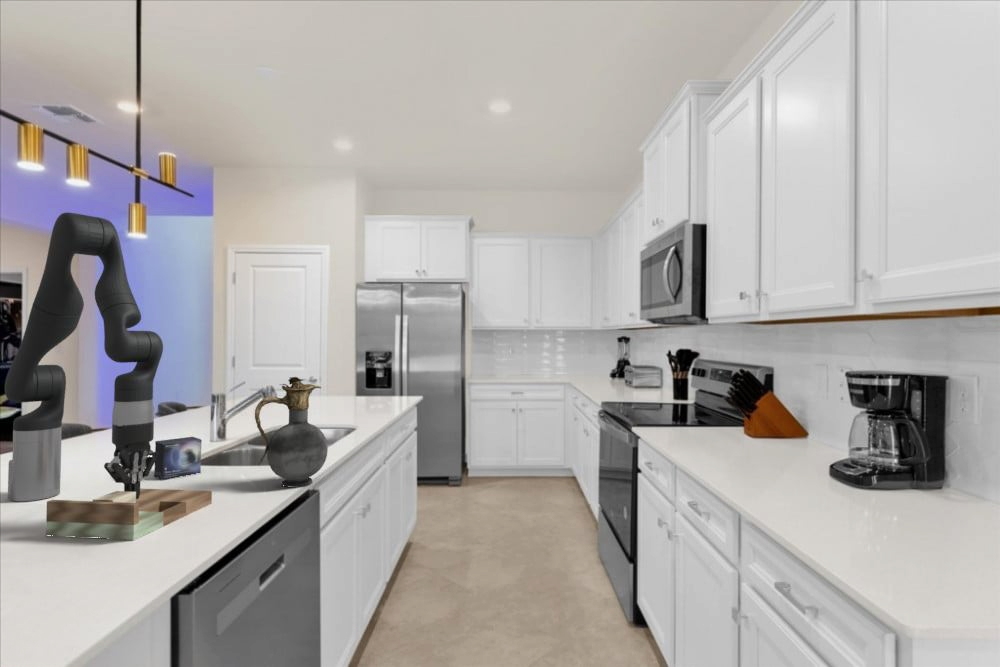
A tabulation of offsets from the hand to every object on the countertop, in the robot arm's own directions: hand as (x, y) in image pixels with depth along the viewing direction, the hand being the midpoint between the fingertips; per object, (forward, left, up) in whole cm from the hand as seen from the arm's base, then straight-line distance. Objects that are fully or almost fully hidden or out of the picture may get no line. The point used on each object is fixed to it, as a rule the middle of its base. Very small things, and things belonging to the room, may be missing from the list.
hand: (131, 499), depth 114 cm
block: (0, -5, -2) cm, 5 cm away
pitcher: (+20, +32, -5) cm, 38 cm away
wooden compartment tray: (0, +2, -5) cm, 5 cm away
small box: (-18, +38, -5) cm, 42 cm away
